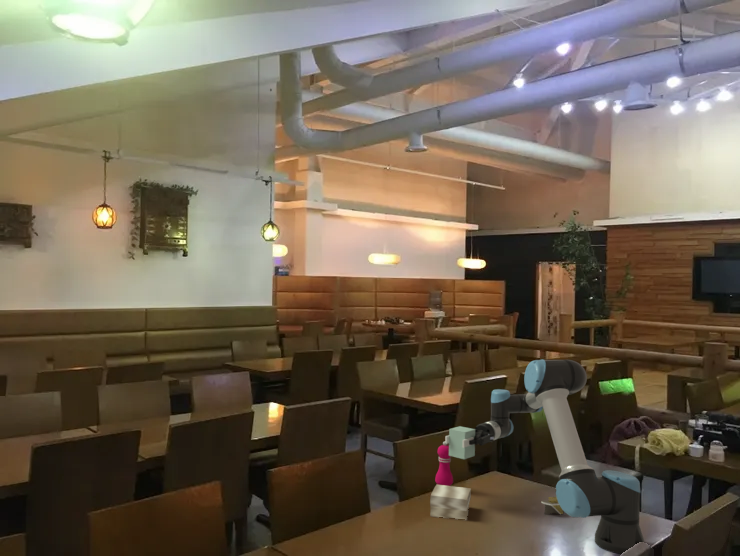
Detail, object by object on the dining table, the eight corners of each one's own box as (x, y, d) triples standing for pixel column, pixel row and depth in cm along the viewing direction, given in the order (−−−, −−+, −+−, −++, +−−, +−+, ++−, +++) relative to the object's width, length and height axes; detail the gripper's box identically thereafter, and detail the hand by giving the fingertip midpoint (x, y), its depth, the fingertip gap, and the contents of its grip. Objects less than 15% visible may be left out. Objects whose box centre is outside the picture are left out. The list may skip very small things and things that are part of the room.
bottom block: (468, 509, 236) (469, 498, 236) (466, 522, 223) (467, 510, 223) (434, 505, 239) (434, 495, 239) (430, 518, 226) (430, 506, 226)
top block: (470, 499, 235) (470, 488, 235) (466, 511, 223) (466, 499, 223) (436, 495, 239) (436, 484, 239) (430, 506, 226) (430, 495, 226)
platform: (586, 519, 228) (587, 501, 228) (541, 523, 223) (542, 504, 223) (568, 508, 239) (568, 490, 240) (525, 511, 235) (525, 493, 235)
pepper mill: (432, 488, 257) (433, 439, 257) (448, 487, 259) (449, 438, 259) (439, 494, 250) (440, 444, 250) (455, 493, 252) (457, 443, 252)
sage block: (459, 452, 243) (459, 426, 243) (474, 455, 239) (475, 429, 239) (448, 455, 238) (449, 429, 238) (464, 459, 233) (465, 432, 233)
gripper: (509, 446, 245) (477, 457, 228) (465, 436, 258) (432, 446, 241) (509, 427, 245) (477, 436, 228) (466, 418, 258) (433, 427, 241)
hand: (454, 441), depth 235 cm, fingers closed on sage block, 7 cm apart
